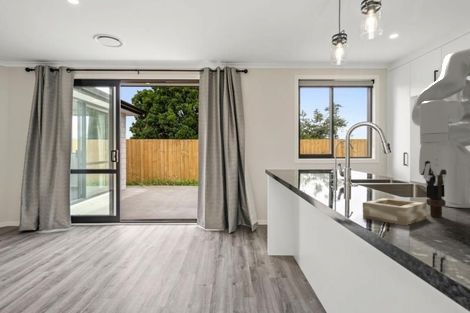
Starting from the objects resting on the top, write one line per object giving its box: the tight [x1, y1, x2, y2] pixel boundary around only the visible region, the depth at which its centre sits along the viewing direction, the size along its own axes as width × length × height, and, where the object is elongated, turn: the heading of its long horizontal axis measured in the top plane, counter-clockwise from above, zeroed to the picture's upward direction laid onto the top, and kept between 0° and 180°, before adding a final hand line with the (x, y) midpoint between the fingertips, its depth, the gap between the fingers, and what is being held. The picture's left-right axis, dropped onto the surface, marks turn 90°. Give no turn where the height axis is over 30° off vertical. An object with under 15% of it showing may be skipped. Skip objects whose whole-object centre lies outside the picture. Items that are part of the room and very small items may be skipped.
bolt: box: [426, 170, 446, 218], centre depth 90 cm, size 6×5×15 cm
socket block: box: [362, 197, 428, 227], centre depth 90 cm, size 13×13×5 cm
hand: (435, 196), depth 90 cm, fingers closed on bolt, 3 cm apart
